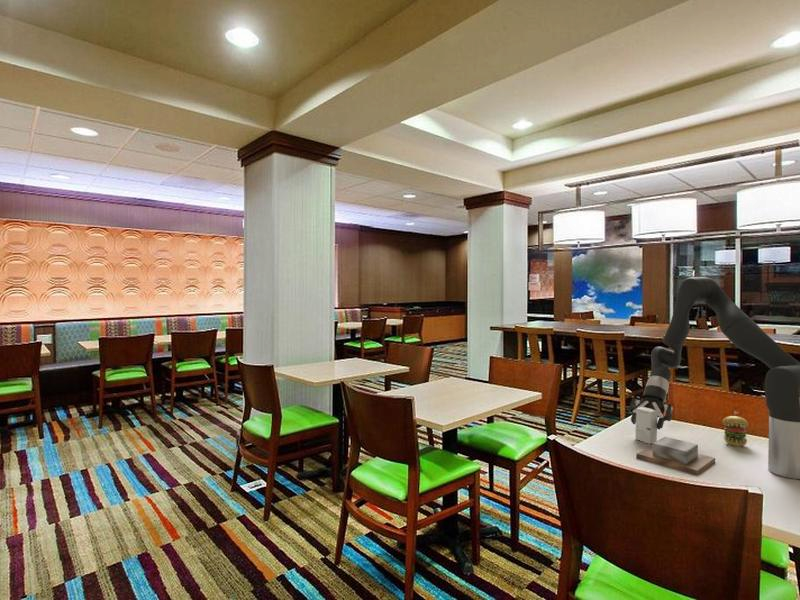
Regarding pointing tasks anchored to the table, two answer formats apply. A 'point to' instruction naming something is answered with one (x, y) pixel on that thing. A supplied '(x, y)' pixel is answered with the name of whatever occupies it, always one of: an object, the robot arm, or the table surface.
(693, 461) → the display stand
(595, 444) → the table surface
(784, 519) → the table surface
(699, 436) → the table surface
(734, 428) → the hamburger
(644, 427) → the skincare box
